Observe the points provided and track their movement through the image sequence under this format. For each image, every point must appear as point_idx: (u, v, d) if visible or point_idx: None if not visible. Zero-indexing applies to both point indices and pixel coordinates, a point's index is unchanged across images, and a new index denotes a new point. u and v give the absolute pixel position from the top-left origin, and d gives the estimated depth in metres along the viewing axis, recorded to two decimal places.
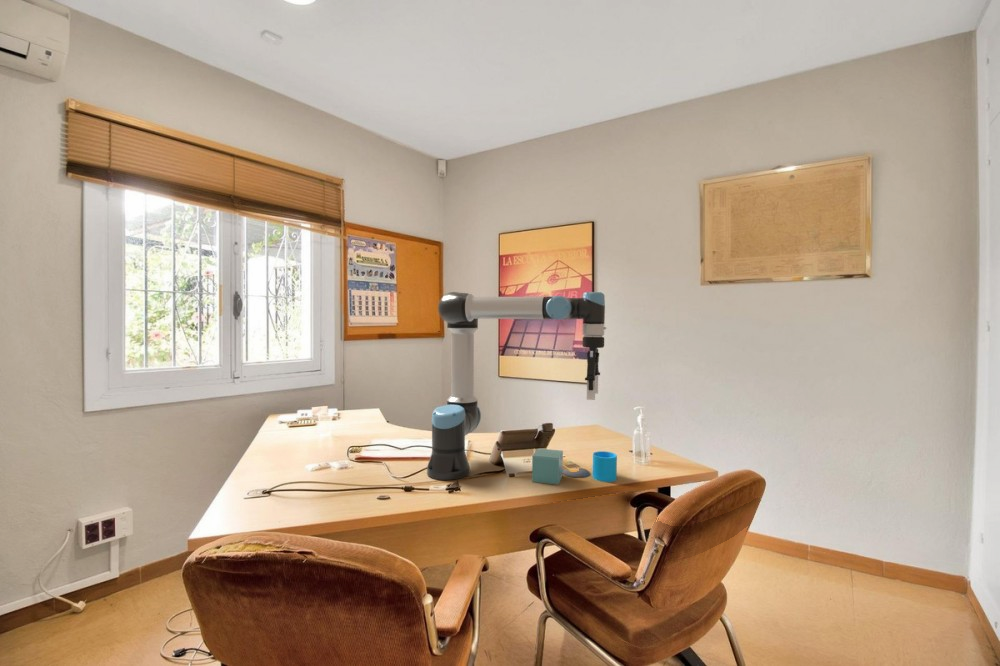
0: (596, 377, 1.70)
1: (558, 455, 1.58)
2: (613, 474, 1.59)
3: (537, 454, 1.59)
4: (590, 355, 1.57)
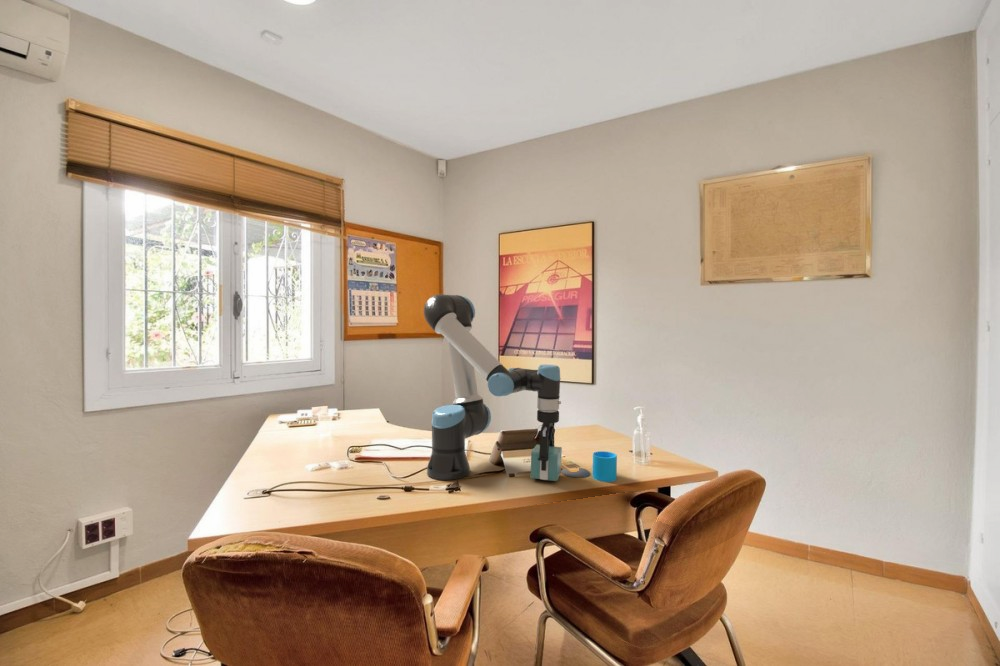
0: None
1: (557, 452, 1.58)
2: (613, 474, 1.59)
3: (536, 450, 1.59)
4: (543, 435, 1.54)
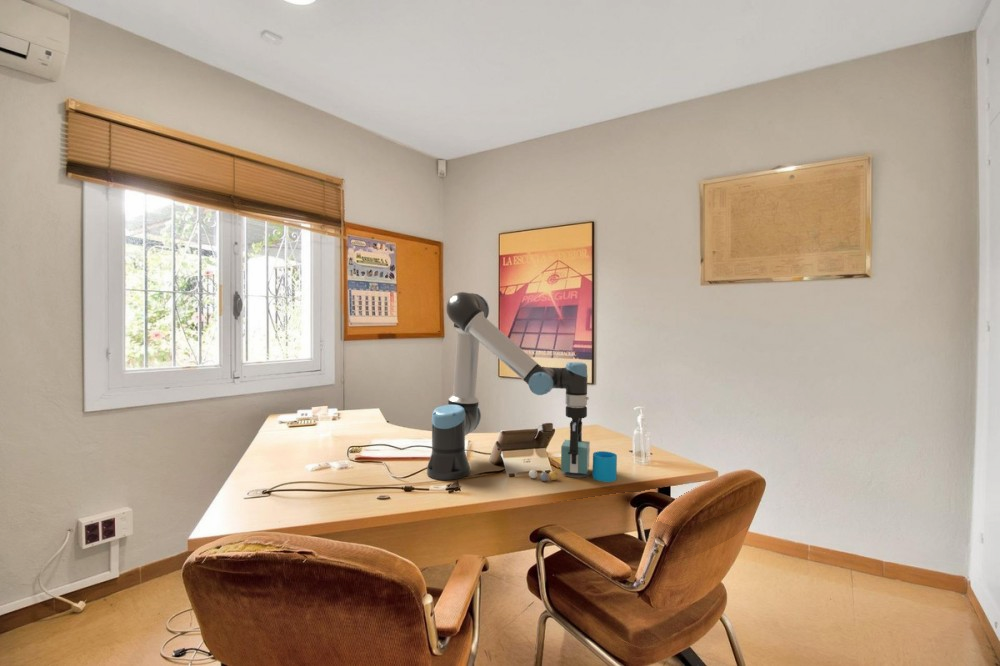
0: None
1: (586, 446, 1.64)
2: (613, 474, 1.59)
3: (566, 444, 1.65)
4: (572, 429, 1.60)
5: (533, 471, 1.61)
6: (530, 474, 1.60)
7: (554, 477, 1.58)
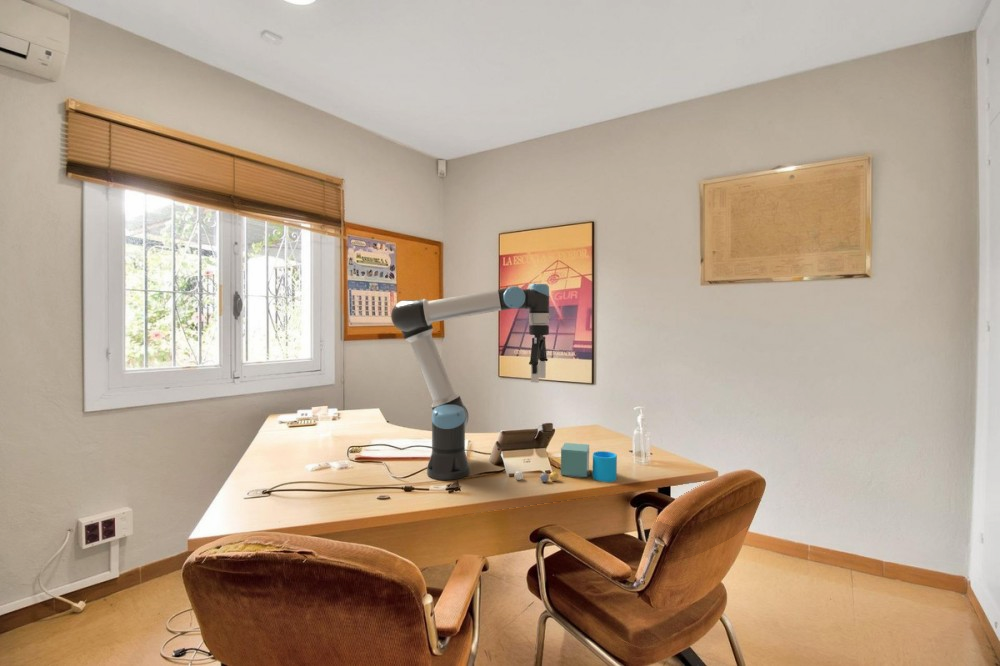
0: (543, 363, 1.84)
1: (586, 449, 1.64)
2: (613, 474, 1.59)
3: (566, 448, 1.65)
4: (534, 341, 1.72)
5: None
6: (522, 475, 1.60)
7: (555, 480, 1.58)
